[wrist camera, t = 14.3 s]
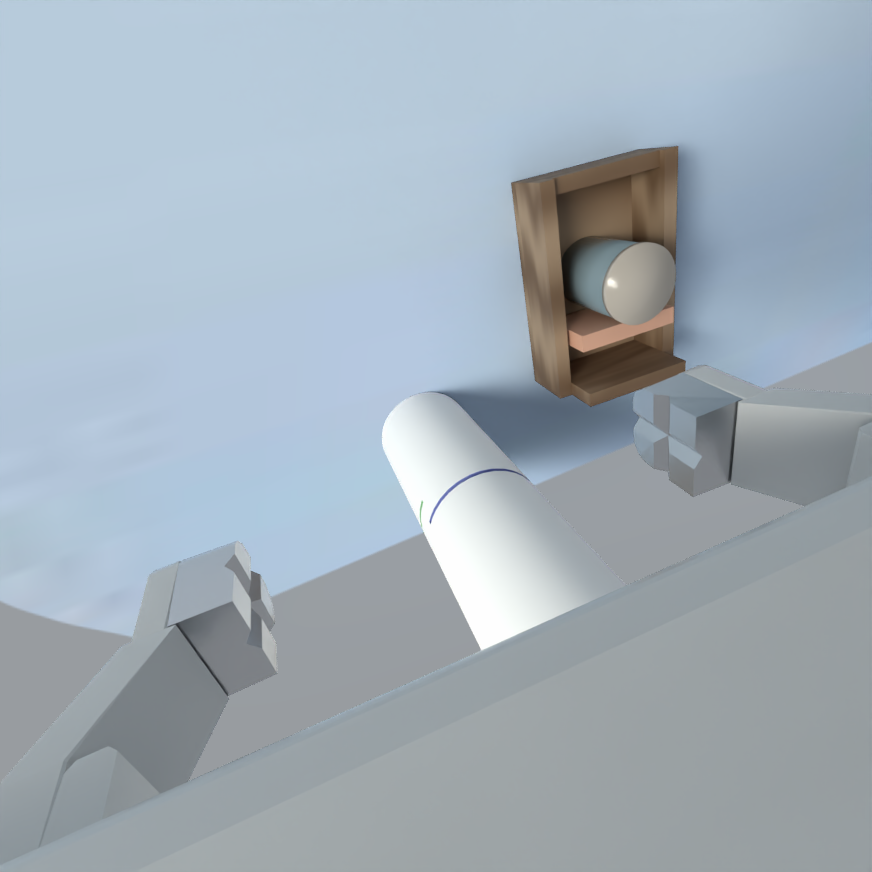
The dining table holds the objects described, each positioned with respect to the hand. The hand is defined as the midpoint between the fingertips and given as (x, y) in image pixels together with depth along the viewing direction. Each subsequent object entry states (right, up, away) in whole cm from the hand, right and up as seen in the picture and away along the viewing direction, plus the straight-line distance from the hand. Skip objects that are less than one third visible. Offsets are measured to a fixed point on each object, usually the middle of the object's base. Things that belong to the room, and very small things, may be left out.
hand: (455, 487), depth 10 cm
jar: (+11, +14, +29) cm, 34 cm away
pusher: (+12, +11, +30) cm, 34 cm away
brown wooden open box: (+11, +14, +30) cm, 34 cm away
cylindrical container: (-1, +1, +32) cm, 32 cm away
